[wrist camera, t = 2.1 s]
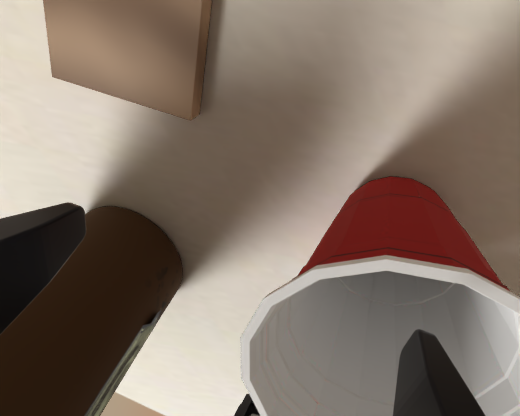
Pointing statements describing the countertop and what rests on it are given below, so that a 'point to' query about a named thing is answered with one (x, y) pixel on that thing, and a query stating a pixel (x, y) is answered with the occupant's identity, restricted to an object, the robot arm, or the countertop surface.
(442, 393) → the robot arm
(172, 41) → the square tan coaster
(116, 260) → the olive oil
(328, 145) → the countertop surface
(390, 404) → the plastic cup
